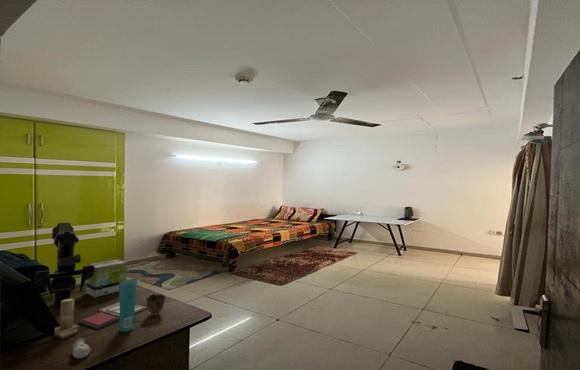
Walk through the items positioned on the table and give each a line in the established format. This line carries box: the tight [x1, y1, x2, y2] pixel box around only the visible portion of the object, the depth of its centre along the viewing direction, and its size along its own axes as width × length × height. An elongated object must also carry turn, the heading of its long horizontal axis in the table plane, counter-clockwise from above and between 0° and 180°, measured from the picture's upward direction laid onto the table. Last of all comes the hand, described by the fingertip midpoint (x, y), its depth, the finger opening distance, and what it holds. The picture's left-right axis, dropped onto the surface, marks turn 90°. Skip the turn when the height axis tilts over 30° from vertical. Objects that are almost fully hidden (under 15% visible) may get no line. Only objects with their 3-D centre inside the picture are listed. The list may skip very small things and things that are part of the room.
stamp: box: [54, 298, 79, 340], centre depth 110 cm, size 5×5×12 cm
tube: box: [118, 277, 138, 332], centre depth 117 cm, size 7×5×19 cm, turn 158°
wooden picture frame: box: [97, 301, 148, 319], centre depth 133 cm, size 16×12×1 cm
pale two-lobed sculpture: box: [72, 337, 92, 360], centre depth 99 cm, size 4×8×5 cm
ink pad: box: [78, 312, 120, 331], centre depth 121 cm, size 11×9×1 cm
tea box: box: [85, 258, 128, 298], centre depth 153 cm, size 15×10×15 cm
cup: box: [146, 293, 166, 317], centre depth 130 cm, size 8×7×8 cm
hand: (66, 293), depth 116 cm, fingers open, 9 cm apart
